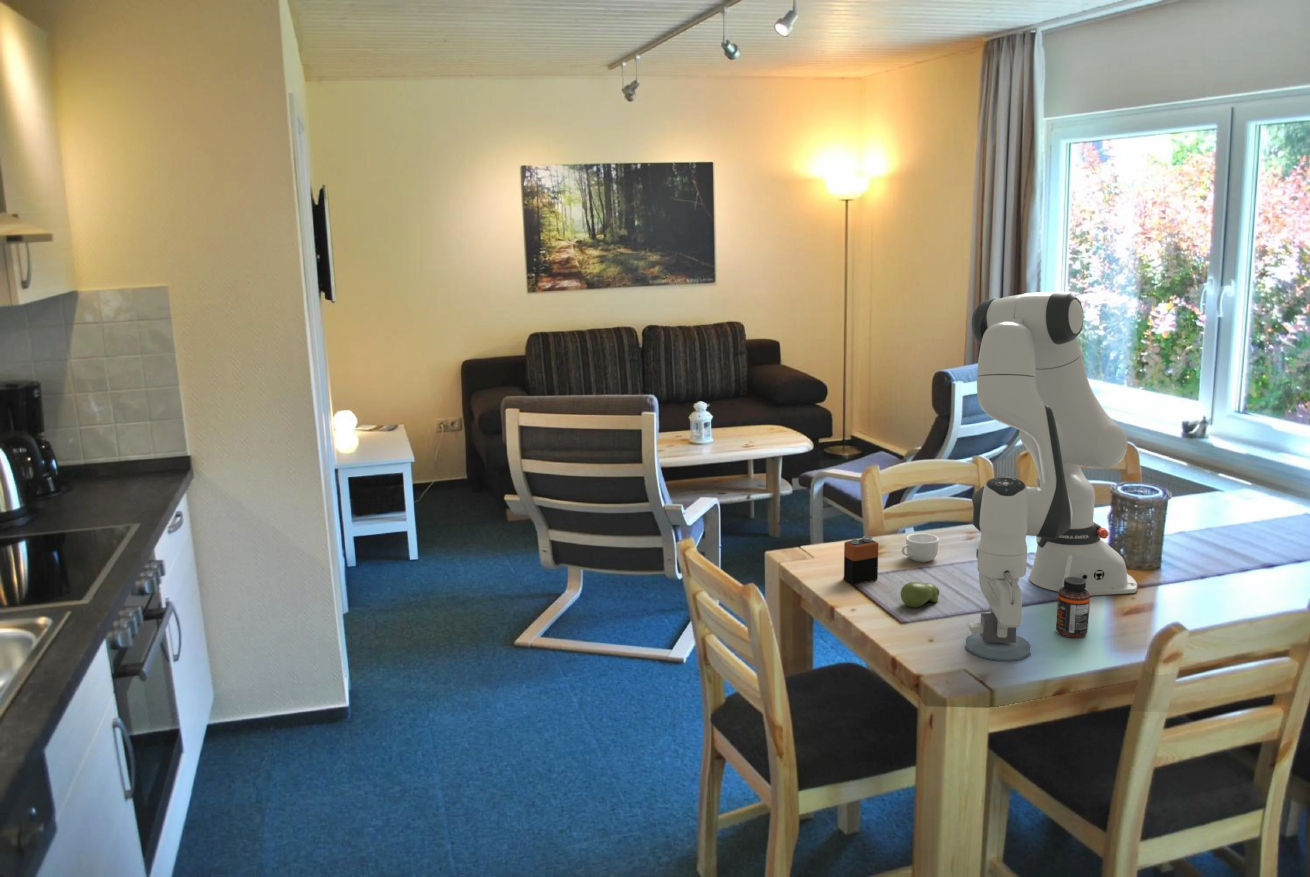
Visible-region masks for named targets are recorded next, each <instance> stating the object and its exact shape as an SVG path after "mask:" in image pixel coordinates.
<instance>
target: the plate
mask: <svg viewBox="0 0 1310 877" xmlns="http://www.w3.org/2000/svg"><path fill="white" fill-rule="evenodd" d="M1031 646H1032V645H1031V644H1030V642H1029V641H1028V640H1026V639H1025V638H1024V637H1021V636H1020V635H1017V634H1016V643H1009V642H983V640H982V638H981V636H980V633H970V634H969V635H967V637H966V638H965V648H966V650H967V651H968V652H969V653H970V654H972V655H974V656H976V657H978V658H980V659H985V660H989V661H994V662H1017V661H1021V660H1024V659H1027V658H1028V657H1029V656H1031V655H1030V654H1031V649H1032V648H1031Z"/></svg>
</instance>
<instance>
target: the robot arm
mask: <svg viewBox="0 0 1310 877" xmlns="http://www.w3.org/2000/svg"><path fill="white" fill-rule="evenodd" d="M1083 309H1084V308H1083V305H1082V302H1081V301H1080V300H1079V298H1077V296H1075V294H1073V293H1072V292H1067V291H1061V290H1055V291H1053V292H1046V291H1045V292H1041V291H1040V292H1027V293H1026V292H1025V293H1022V294H1015V295H1010V296H1005V297H1004V296H1003V297H1001V298H998V297H994V298H993V297H992V298H990V299H987V300H984V301H982V302H980V303H979V304H978V305H977V306H976V308H975V309H974V311H973V313H972V317H971V329H972V335H973V337H974V339H975V340H976V342H977V343H978V344H979V345H980V349H979V354H978V360H977V370H976V371H977V372H976V396H977V403H978V405H979V406H980V409H981V410H982V411H983V412H984V413H985V414H986V415H987V416H988V417H990V418H991V419H993V420H995V421H997V422H999V423H1001V424H1004V425H1006V426H1008V427H1011V428H1014V429H1016V430H1018V431H1019V439H1020V441H1021V443H1022V444H1023V446H1024V447H1025V448H1026V449H1027V451H1028V452H1029V453H1030V456H1031V458H1032V459H1033V463H1034V465H1035V467H1036V471H1037V475H1038V478H1039V484H1040V485H1039V486H1029V485H1028V486H1027V485H1026V483H1025V482H1023V481H1022V480H1020V479H1018V478H1015V477H1010V476H997V477H996V476H995V477H993V478H990V479H988V480H987V481H986V482H985V483H984V485H983V486H981V487H980V488H979V489H978V490H977V491H975V492H974V493H973V494H972V497H971V500H972V517H971V522H970V523H971V524H972V525H973V526H974V528H975V529H976V530H978V532H979V533H980V538H979V542H978V545H977V546H978V547H977V548H976V551H975V552H976V553H975V554H976V555H975V556H976V559H977V572H978V574H979V587H980V590H981V592H982V594H983V596H984V597H985V599H986V601H987V603H988V606H989V613H994V614H995V616H996V618H997V620H998V623H997V626H996V634H997V636H998V637H1004V638H1005V637H1007V629H1008V627H1009V628H1016V629H1017V628H1019V627H1020V626H1021V625H1022V618H1023V617H1022V616H1023V614H1022V613H1023V612H1022V610H1023V608H1022V607H1023V606H1022V605H1023V604H1022V603H1023V598H1022V590H1021V587H1020V585H1019V579H1020V578H1023V577H1024V576H1025V575H1026V573H1027V562H1028V560H1027V559H1028V546H1027V541H1026V537H1028V536H1031V537H1036V540H1035V541H1036V544H1037V546H1036V553H1035V556H1034V561H1033V565H1032V567H1031V571H1030V573H1029V574H1028V575H1029V576H1028V580H1029V581H1030V582H1031V583H1032V584H1034V585H1035V586H1037V587H1040V588H1042V589H1045V590H1049V591H1053V592H1058V591H1059V589H1060V588H1062V587H1064V579H1065V578H1067V577H1079V578H1082V579H1084V580H1085V581H1086V587H1085V589H1086V590H1087V591H1088V592H1089V593H1090V597H1092V596H1104V595H1106V596H1107V595H1124V594H1135V593H1137V591H1138V583H1137V581H1136V580H1135V578H1133V576H1131V575H1130V574H1128V572H1127V566H1126V562H1125V559H1124V558H1123V556H1121V555H1120V554H1119V552H1117V551H1116V550H1115V549H1114V548H1113V547H1112V546H1110V545H1109V544H1107V543H1106V542H1105V541H1104V540H1105V539H1107V538H1108V537H1109V535H1110V533H1109V531H1108V530H1107V529H1106V528H1104V527H1102V526H1101V525H1100V524H1098V523H1096V522H1095V521H1094V516H1095V515H1094V513H1095V511H1094V510H1095V499H1096V493H1095V492H1096V491H1095V488H1094V486H1093V485H1092V483H1091V482H1090V481H1089V480H1088V479H1087V477H1086V476H1085V475H1084V472H1083V470H1082V468H1081V467H1083V468H1088V469H1112V468H1114V467H1116V466H1117V465H1119V463H1121V461H1122V460H1123V459H1124V457H1125V455H1126V454H1127V451H1128V446H1129V445H1128V444H1129V442H1128V437H1127V433H1126V432H1125V430H1124V429H1123V428H1122V427H1121V426H1120V425H1118V424H1117V423H1116V422H1115V420H1113V419H1112V418H1111V417H1110V416H1109V415H1108V413H1107V412H1106V411H1105V409H1104V407H1102V405H1101V402H1099V400H1098V399H1097V397H1096V395H1095V393H1094V391H1093V390H1092V387H1091V385H1090V383H1089V380H1088V379H1089V378H1088V374H1087V372H1086V368H1085V367H1086V366H1085V362H1084V358H1083V354H1082V350H1081V345H1080V342H1079V338H1078V336H1079V335H1080V334H1081V332H1082V330H1083V325H1084V310H1083ZM1102 539H1103V540H1102Z"/></svg>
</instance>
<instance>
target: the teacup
mask: <svg viewBox="0 0 1310 877" xmlns="http://www.w3.org/2000/svg"><path fill="white" fill-rule="evenodd" d="M939 542H940V538H939V537H938V536H937V535H934V534H932V533H921V532H919V533H918V532H917V533H912V534H908V535H907V536H906V537H905V544H904V545H903V547H902V548H901V554H903V555H904V556H906V557H909V558H910V559H912V561H915V562H917V563H930V562H931V561H932V560H934V559H935V558H936V556H937V555H938V551H939V550H938V549H939ZM905 550H906V552H905Z"/></svg>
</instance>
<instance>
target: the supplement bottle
mask: <svg viewBox="0 0 1310 877" xmlns="http://www.w3.org/2000/svg"><path fill="white" fill-rule="evenodd" d="M1085 587H1086V581H1085V580H1084V579H1082V578H1079V577H1067V578H1065V579H1064V587H1062V588H1060V589H1059V591H1057V601H1056V602H1057V603H1056V604H1057V606H1056V618H1055V620H1056V621H1055V631H1056V633H1058V634H1059V635H1061V636H1062V637H1067V638H1069V639H1070V638H1071V639H1073V638H1074V639H1079V638H1080V639H1081V638H1084V637H1086V636H1087V634H1088V630H1089V628H1088V627H1089V618H1090V617H1089V616H1090V604H1091V603H1090V602H1091V596H1090V593H1089V592H1088V591H1087V590H1086V589H1085Z"/></svg>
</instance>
